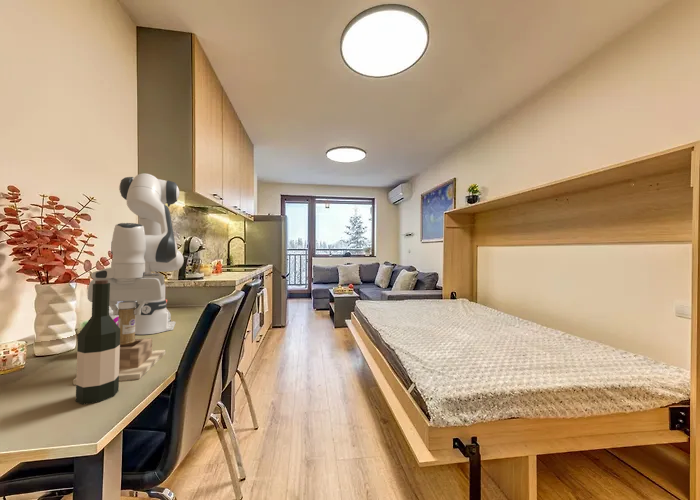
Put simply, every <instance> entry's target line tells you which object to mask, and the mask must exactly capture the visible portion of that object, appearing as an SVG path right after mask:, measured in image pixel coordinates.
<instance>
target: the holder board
mask: <svg viewBox="0 0 700 500" xmlns="http://www.w3.org/2000/svg"><path fill="white" fill-rule="evenodd" d="M165 355H166V349H159V350H158V349H156V350H153V337H151V338H149V337H147V338H135V342H134V343H131V344H126V345H120V358H119V382H121V381H131V380H133V381H134V380H140V379H142V377H144V376H145V374H146V373H147V372H148V371H149V370H151V369H152V368H153V367H154V366H155V364H157V363H158V361H160V359H162V358H163V357H164V356H165ZM72 383H73V386H74V385H75V386H76V377H75V378H74V379H73V381H72Z"/></svg>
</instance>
